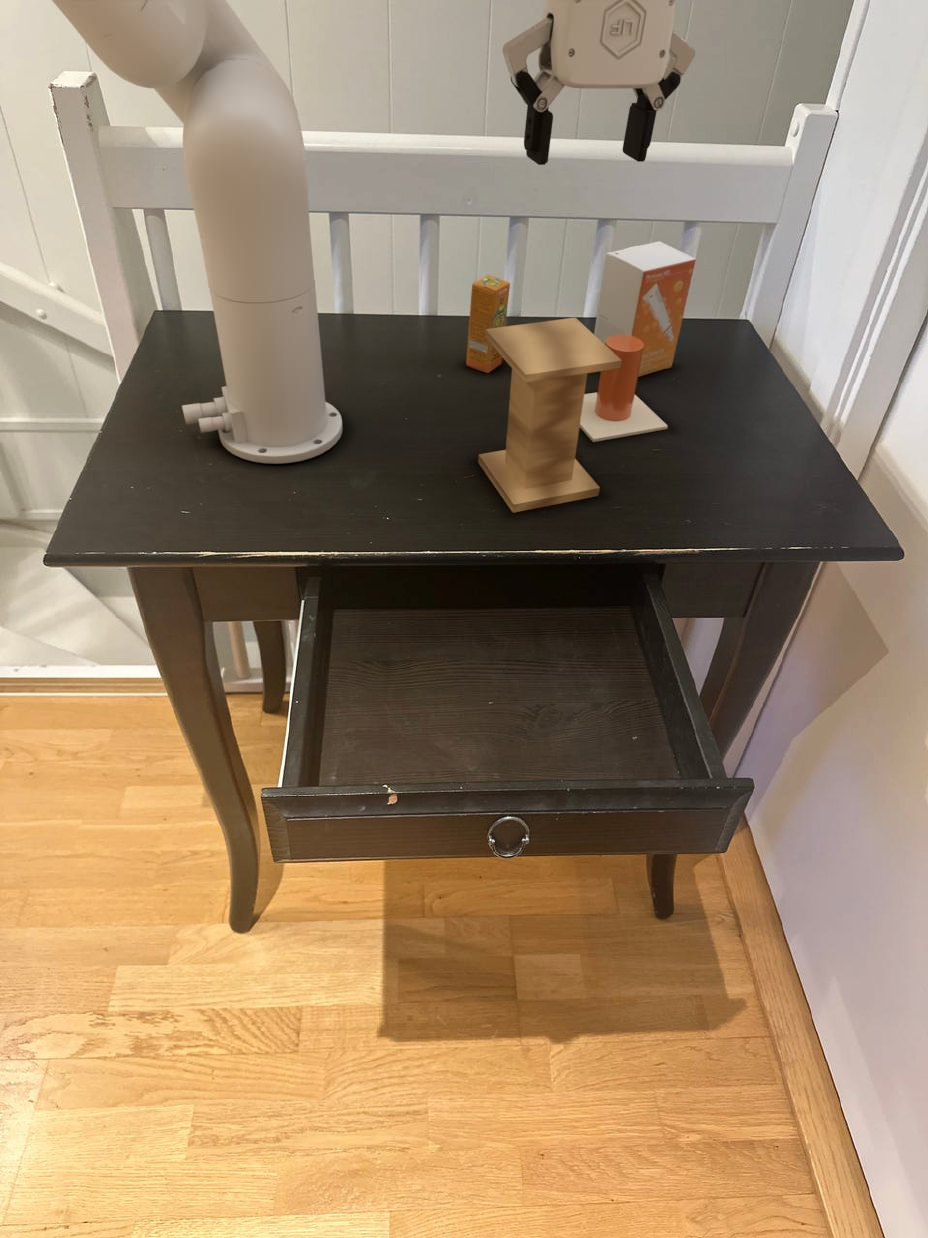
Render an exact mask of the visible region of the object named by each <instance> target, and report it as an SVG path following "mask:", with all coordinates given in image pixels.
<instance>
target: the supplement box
mask: <svg viewBox="0 0 928 1238" xmlns="http://www.w3.org/2000/svg"><path fill="white" fill-rule="evenodd" d="M510 288H511V283H510V282H509V281H507V280H504V279H502V278H499V277H496V276H493V275H490V274H486V275H485V276H484V277H483V278H480V279H479V280H476V281H473V282H472V285H471V294H470V306H469V318H468V319H469V320H468V332H467V333H468V335H467V347H466V348H467V349H466V360H465V361H466V362H465V363H466V364H465V365H466V366H467V367H469V368H471V369H474V370H477V371H480V372H483V373H486V374H489V373H490V372H492V371H494V370H495V369H496V368H497V367H498V366H500V365H502V361H503V357H502V356H501V355H500V354H499V353H498V351H497V350H496V349H495V348H494V347H493V346H492V344H491V343H490V342H489V341H488V340H487V339H486V338H485V330H486V329H491V328H499V327H507V326H506V325H507V316H508V307H509V297H510Z"/></svg>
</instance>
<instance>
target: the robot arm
mask: <svg viewBox="0 0 928 1238" xmlns="http://www.w3.org/2000/svg"><path fill="white" fill-rule="evenodd" d="M51 1H52V2H53V4H54V5H55V6H56V7H57V9H58V10H59V11H60V12H61V13H62V14H63V15H64V16H65V17H64V18H66V19H67V21H69V23H70V24H71V25H72V27H73V28H74V29H75V30H76V31H77V33H78V34H79V35H80V36H81V38H82V39H83V40H84V42H85V43H86V45H88V47H89V48H90V49H91V51H92V52H93V53H94V54H95V56H96V57H97V58H98V59H99V60H100V61H101V62H102V63H103V64H104V65H105V66H106V67H107V68H108V69H109V70H110V71H111V72H113V73H114V74H115V75H117V76H118V77H119V78H120V79H122V80H124V81H126V82H128V83H130V84H132V85H135V86H137V87H140V88H147V89H153V90H154V91H155V92H156V93H157V95H159V97H160V98H161V99H162V100H163V101H164V103H166V105H167V106H168V107H169V109H170V110H171V111H172V112H173V113H174V114H175V116H176V117H177V118H178V120H180V122H181V123H182V124H183V126H182V127H183V128H182V156H183V164H184V165H183V166H184V171H185V176H186V177H185V178H186V182H187V187H188V191H189V196H190V198H191V203H192V208H193V213H194V217H195V221H196V226H197V230H198V235H199V240H200V246H201V251H202V257H203V263H204V267H205V273H206V274H205V275H206V279H207V283H208V284H207V285H208V288H209V293H210V299H211V305H212V310H213V316H214V317H213V318H214V321H215V327H216V333H217V334H216V335H217V339H218V345H219V350H220V356H221V362H222V367H223V368H222V369H223V373H224V380H225V386H222V387H221V392H222V396H221V397H214V398H213V401H209V402H203V403H200V402H197V403H191V404H183V405H181V409H182V413H183V417H184V421H185V425H186V426H188V425H189V426H190V425H195V424H198V425H199V429H200V433H201V434H205V433H210V432H211V433H212V432H215V431H218V436H219V440H220V443H221V444H222V446H223V447H224V448H225V449H226V451H228V452H229V453H231V454H232V455H233V456H236V457H239V458H240V459H243V460H245V461H250V462H252V463H260V464H269V465H270V464H272V465H274V464H275V465H280V464H282V465H283V464H291V463H297V462H303V461H306V460H309V459H313V458H315V457H317V456H320V455H323V454H324V453H325V452H327V451H329V450H330V449H331V448H333V447H334V446H335V445H336V444H338V442H339V440H340V439H341V437H342V434H343V420H342V415H341V414H340V412H339V410H338V409H337V408H336V407H335V406H334V405H332V404H330V403H329V402H327V401H326V391H325V382H324V381H325V380H324V369H323V359H322V358H323V357H322V346H321V335H320V325H319V323H320V322H319V313H318V312H319V311H318V302H317V301H318V300H317V290H316V289H317V288H316V280H315V271H314V260H313V249H312V248H313V247H312V236H311V235H312V234H311V225H310V223H311V221H310V208H309V206H310V205H309V188H308V185H309V184H308V169H307V159H306V158H307V157H306V151H305V150H306V149H305V141H304V138H303V132H302V128H301V127H302V126H301V123H300V122H301V121H300V118H299V115H298V110H297V106H296V103H295V100H294V98H293V95H292V92H291V91H290V89H289V87H288V85H287V84H286V82H285V80H284V79H283V78H282V76H281V74H280V73H279V71H278V70H277V68H275V66H274V64H273V63H272V62H271V61H270V59H269V58H268V57H267V55H266V53H265V52H264V51H263V49H262V48H261V47H260V45H259V44H258V43H257V41H256V39H254V37H253V36H252V34H251V32H250V31H249V30H248V28H247V27H246V26H245V25H244V23H243V22H242V21H241V19H240V17H239V16H238V15H237V14H236V12H235V11H234V10H233V8H232V6H231V5H230V3H229V2H228V1H227V0H51ZM676 2H677V0H545V2H544V8H543V9H544V10H543V13H542V20H540V21H539V22H537V23H536V24H534V25H533V26H531V27H529V28H528V29H526V30H525V31H523V32H521V33H520V34H517V36H515V37H513V38H511V39H510V40H508V41H507V42H506V43H504V44H503V46H502V54H503V55H502V56H503V58H504V61H505V64H506V68H507V71H508V72H509V75H510V81H511V84H512V86H513V87H514V88H515V90H516V91H517V92H518V94H519V95H520V96H521V97H520V98H522V101H523V103H524V104H525V105H527V107H526V108H527V109H526V118H525V129H524V138H523V147H524V150H525V151H526V153H525V154H526V157H527V158H529V159H530V160H531V161H533V162H534V163H536V165H538V166H545V165H546V164H547V163H548V162H549V154H550V147H551V138H552V130H553V123H554V114H553V112H552V111H550V110H549V108H550V106H551V104H552V103H553V102H554V101H555V99H556V98H557V97H558V95H559V94H560V93H561V92H562V91H563V89H564V88H565V87H568V88H571V89H595V90H596V89H598V90H599V89H600V90H601V89H602V90H603V89H608V90H609V89H632V91H633V94H634V95H635V97H636V102H631V105H630V106H629V110H628V115H627V121H626V127H625V132H624V138H623V144H622V153H623V154H624V155H626V156H628V157H629V158H631V159H633V160H635V161H636V162H638V163H639V162H640V163H641V162H645V161H646V158H647V154H648V149H649V147H650V146H651V142H652V138H653V132H654V127H655V122H656V117H657V112H659V111H661V110H662V109H663V108H664V107H665V104H666V100H667V99H668V98H669V96H671V95H672V94H673V93H674V92H675V91H676V90H677V88H678V87H679V86H680V84H681V80H682V77H683V76H684V75H685V73H686V72H687V70H688V68H689V66H690V65H691V63H692V61H693V60H694V58H695V55H696V50H695V48H694V47H692V45H691V44H689V43H688V42H687V41H686V40H684V39H683V38H682V37H681V36H680V35H679V34H677V32H676V31H674V30H673V28H674V27H673V26H674V19H675V12H676ZM537 50H538V58H537V59H538V62H537V63H538V68H539V71H538V73H537V74H536V75H535V77H534V78H533V77H532V76H531V74H530V72H529V69H528V65H527V58H528V56H529V55H530V54H532V53H534V52H536V51H537ZM668 59H669V60H668Z"/></svg>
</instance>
